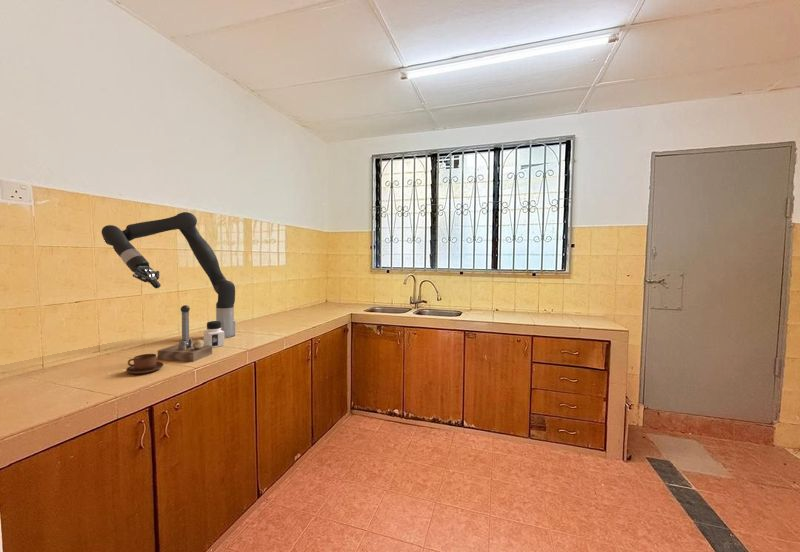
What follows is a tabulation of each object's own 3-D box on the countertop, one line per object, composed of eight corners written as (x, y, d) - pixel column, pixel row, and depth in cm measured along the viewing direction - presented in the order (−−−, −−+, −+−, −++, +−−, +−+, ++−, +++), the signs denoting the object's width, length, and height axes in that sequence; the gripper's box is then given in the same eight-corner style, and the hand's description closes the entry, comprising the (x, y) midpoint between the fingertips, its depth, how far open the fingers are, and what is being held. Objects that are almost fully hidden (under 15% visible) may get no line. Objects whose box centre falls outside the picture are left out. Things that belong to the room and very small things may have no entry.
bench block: (157, 359, 149) (157, 340, 149) (178, 351, 161) (178, 334, 161) (193, 361, 147) (193, 343, 147) (212, 353, 159) (212, 336, 158)
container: (224, 345, 174) (224, 321, 173) (208, 348, 168) (208, 323, 167) (219, 342, 179) (219, 319, 178) (203, 345, 173) (203, 321, 173)
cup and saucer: (123, 378, 126) (123, 362, 126) (129, 369, 136) (128, 354, 136) (162, 373, 133) (161, 358, 132) (164, 364, 143) (164, 350, 142)
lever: (179, 348, 152) (178, 305, 151) (185, 346, 156) (184, 304, 155) (186, 348, 152) (185, 306, 151) (192, 346, 155) (191, 304, 154)
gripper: (126, 254, 148) (150, 282, 147) (151, 255, 161) (174, 280, 160) (116, 266, 149) (140, 294, 148) (142, 265, 162) (165, 291, 161)
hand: (158, 287), depth 154 cm, fingers closed
